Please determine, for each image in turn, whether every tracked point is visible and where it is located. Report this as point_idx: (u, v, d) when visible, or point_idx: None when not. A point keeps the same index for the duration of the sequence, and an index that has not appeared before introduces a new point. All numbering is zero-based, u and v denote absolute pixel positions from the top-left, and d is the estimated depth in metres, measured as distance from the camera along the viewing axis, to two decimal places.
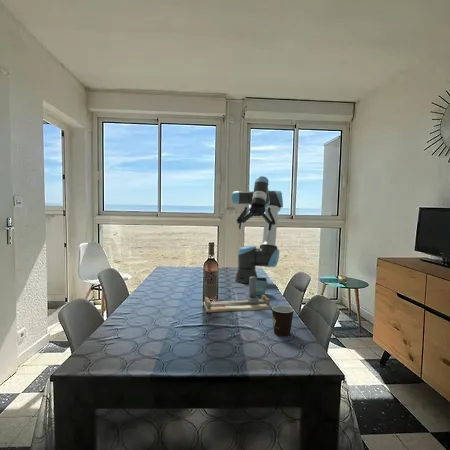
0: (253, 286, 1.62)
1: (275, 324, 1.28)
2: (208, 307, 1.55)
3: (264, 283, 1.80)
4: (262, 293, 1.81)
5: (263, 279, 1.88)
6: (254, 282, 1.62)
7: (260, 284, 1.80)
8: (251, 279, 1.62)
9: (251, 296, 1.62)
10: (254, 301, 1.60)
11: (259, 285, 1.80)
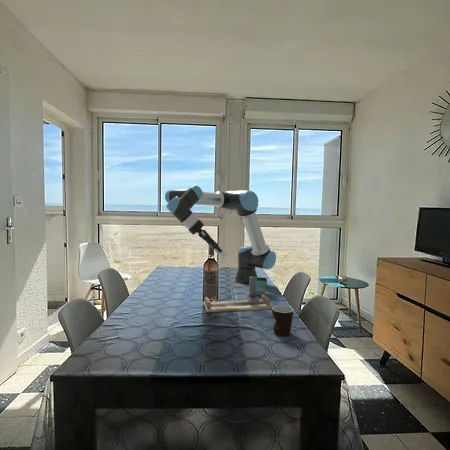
0: (253, 286, 1.62)
1: (275, 324, 1.28)
2: (208, 307, 1.55)
3: (264, 283, 1.80)
4: (262, 293, 1.81)
5: (263, 279, 1.88)
6: (254, 282, 1.62)
7: (260, 284, 1.80)
8: (251, 279, 1.62)
9: (251, 296, 1.62)
10: (254, 301, 1.60)
11: (259, 285, 1.80)
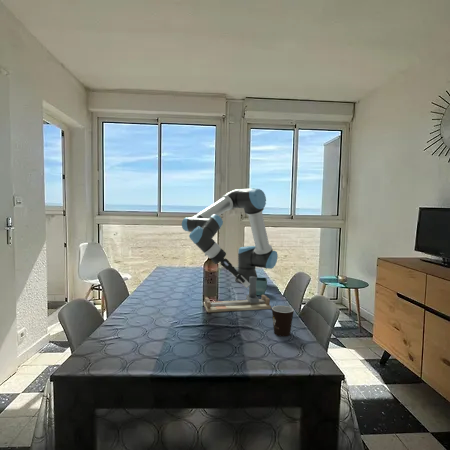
0: (253, 286, 1.62)
1: (275, 324, 1.28)
2: (208, 307, 1.55)
3: (264, 283, 1.80)
4: (262, 293, 1.81)
5: (263, 279, 1.88)
6: (254, 282, 1.62)
7: (260, 284, 1.80)
8: (251, 279, 1.62)
9: (251, 296, 1.62)
10: (254, 301, 1.60)
11: (259, 285, 1.80)
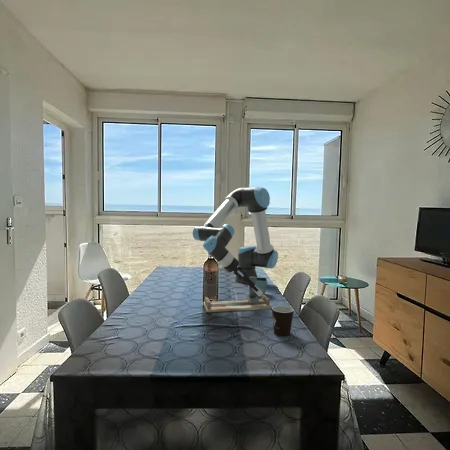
0: None
1: (275, 324, 1.28)
2: (208, 307, 1.55)
3: (264, 283, 1.80)
4: None
5: (263, 279, 1.88)
6: (254, 282, 1.62)
7: (260, 284, 1.80)
8: (251, 279, 1.62)
9: (251, 296, 1.62)
10: (254, 301, 1.60)
11: (259, 285, 1.80)
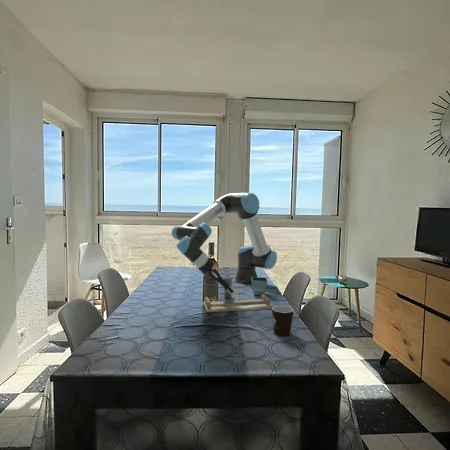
0: None
1: (275, 324, 1.28)
2: (208, 307, 1.55)
3: (264, 283, 1.80)
4: (262, 293, 1.81)
5: (263, 279, 1.88)
6: (229, 283, 1.59)
7: (260, 284, 1.80)
8: (226, 280, 1.59)
9: (226, 297, 1.59)
10: (229, 302, 1.58)
11: (259, 285, 1.80)
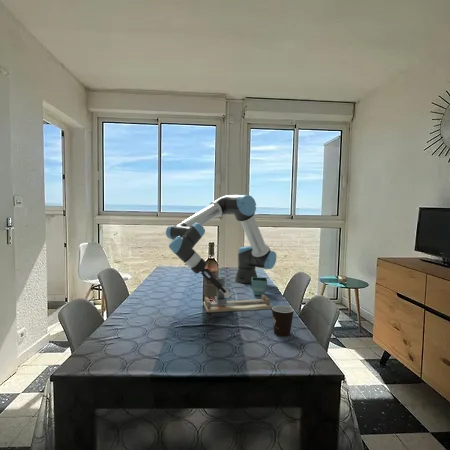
0: None
1: (275, 324, 1.28)
2: (208, 307, 1.55)
3: (264, 283, 1.80)
4: (262, 293, 1.81)
5: (263, 279, 1.88)
6: (222, 283, 1.58)
7: (260, 284, 1.80)
8: (219, 280, 1.58)
9: (219, 298, 1.58)
10: (222, 303, 1.57)
11: (259, 285, 1.80)
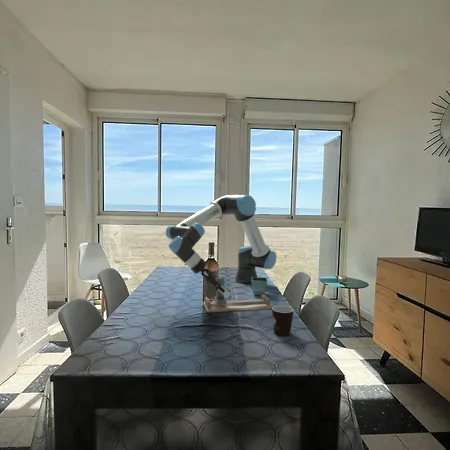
0: None
1: (275, 324, 1.28)
2: (208, 307, 1.55)
3: (264, 283, 1.80)
4: (262, 293, 1.81)
5: (263, 279, 1.88)
6: (222, 283, 1.58)
7: (260, 284, 1.80)
8: (219, 280, 1.58)
9: (219, 298, 1.58)
10: (222, 303, 1.57)
11: (259, 285, 1.80)
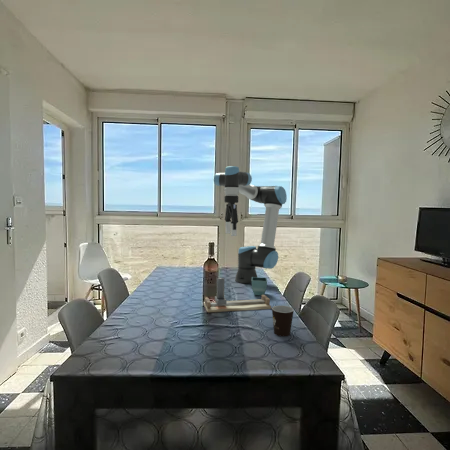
0: (221, 287, 1.58)
1: (275, 324, 1.28)
2: (208, 307, 1.55)
3: (264, 283, 1.80)
4: (262, 293, 1.81)
5: (263, 279, 1.88)
6: (222, 283, 1.58)
7: (260, 284, 1.80)
8: (219, 280, 1.58)
9: (219, 298, 1.58)
10: (222, 303, 1.57)
11: (259, 285, 1.80)
